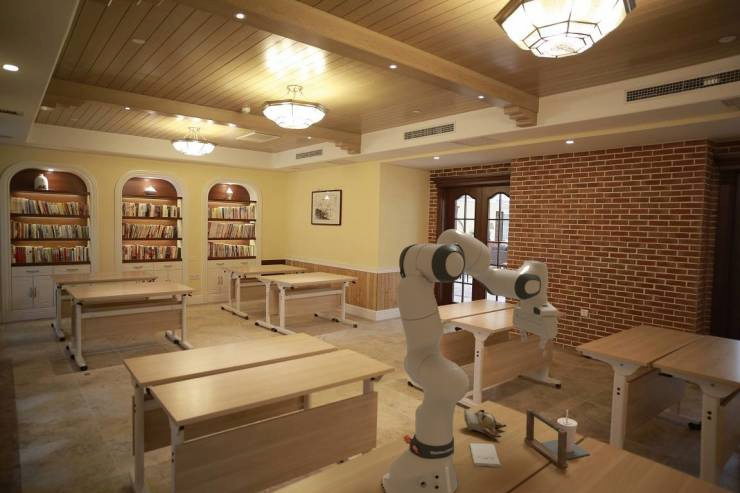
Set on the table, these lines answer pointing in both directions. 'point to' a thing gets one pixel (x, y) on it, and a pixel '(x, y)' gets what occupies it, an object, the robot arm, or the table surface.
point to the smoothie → (568, 430)
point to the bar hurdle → (562, 443)
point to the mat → (575, 452)
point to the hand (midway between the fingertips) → (532, 344)
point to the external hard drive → (484, 455)
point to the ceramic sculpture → (482, 423)
